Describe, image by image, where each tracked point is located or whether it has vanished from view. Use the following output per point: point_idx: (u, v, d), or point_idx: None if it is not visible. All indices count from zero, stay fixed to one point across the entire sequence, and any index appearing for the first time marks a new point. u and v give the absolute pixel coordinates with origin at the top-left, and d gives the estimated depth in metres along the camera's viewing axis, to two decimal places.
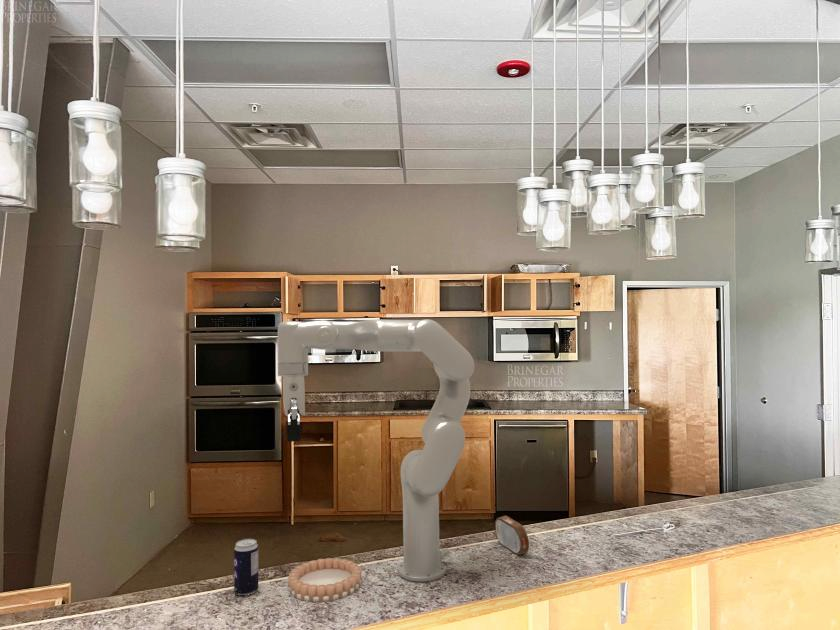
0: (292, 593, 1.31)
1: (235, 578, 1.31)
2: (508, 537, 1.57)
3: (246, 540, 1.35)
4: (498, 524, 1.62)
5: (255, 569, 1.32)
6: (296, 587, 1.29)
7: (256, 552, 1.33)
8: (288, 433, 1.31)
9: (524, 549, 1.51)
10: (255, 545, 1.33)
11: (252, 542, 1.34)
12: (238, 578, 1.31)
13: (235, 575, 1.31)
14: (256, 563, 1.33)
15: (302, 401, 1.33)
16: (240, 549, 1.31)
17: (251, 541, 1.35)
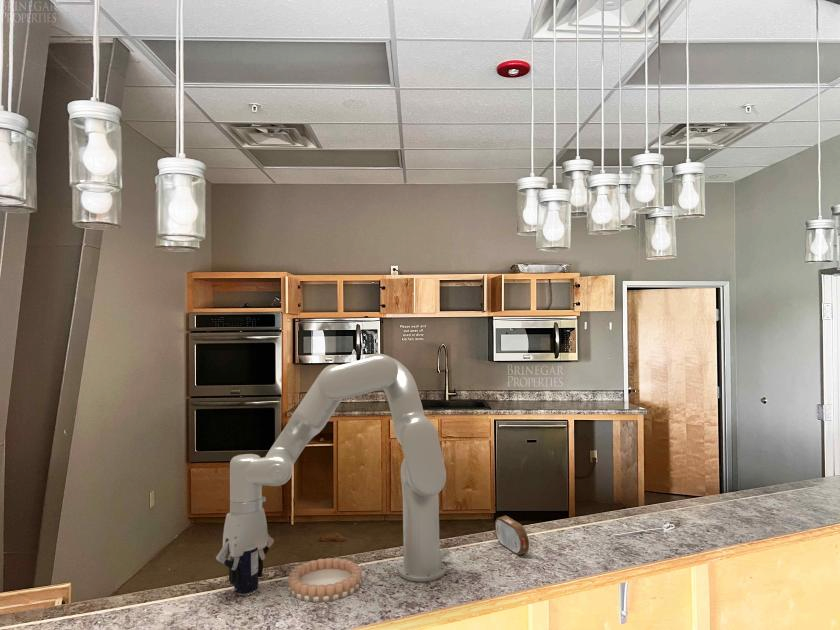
0: (292, 593, 1.31)
1: None
2: (508, 537, 1.57)
3: None
4: (498, 524, 1.62)
5: (255, 569, 1.32)
6: (296, 587, 1.29)
7: (256, 552, 1.33)
8: None
9: (524, 549, 1.51)
10: None
11: None
12: None
13: None
14: (256, 563, 1.33)
15: None
16: None
17: None
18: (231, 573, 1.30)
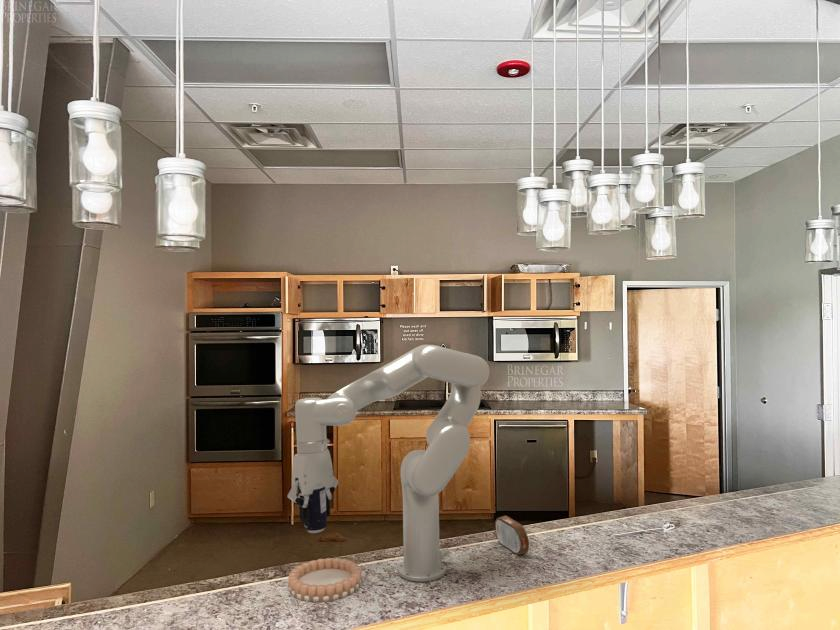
0: (292, 593, 1.31)
1: None
2: (508, 537, 1.57)
3: None
4: (498, 524, 1.62)
5: (324, 507, 1.36)
6: (296, 587, 1.29)
7: (324, 491, 1.36)
8: None
9: (524, 549, 1.51)
10: None
11: None
12: None
13: None
14: (324, 501, 1.36)
15: None
16: None
17: None
18: (302, 511, 1.34)
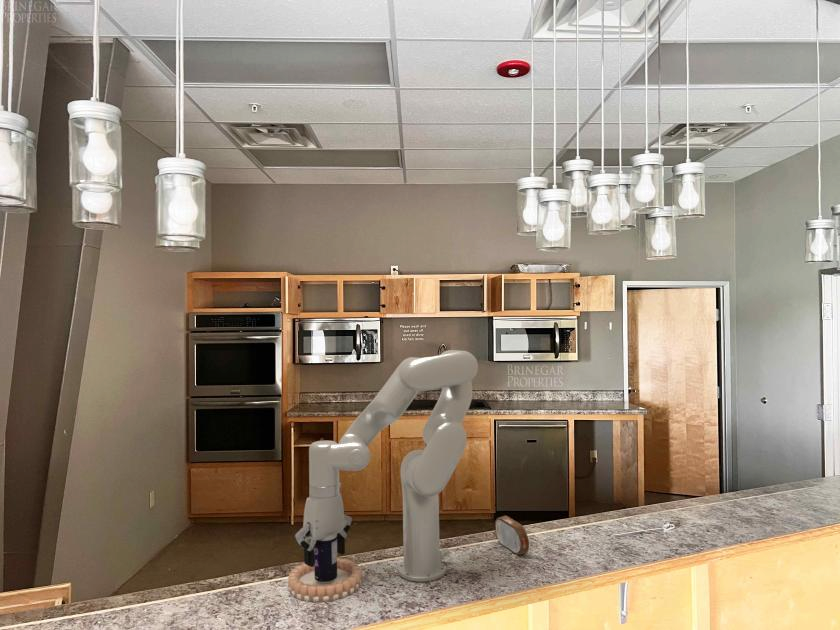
0: (292, 593, 1.31)
1: (316, 567, 1.35)
2: (508, 537, 1.57)
3: None
4: (498, 524, 1.62)
5: (335, 558, 1.36)
6: (296, 587, 1.29)
7: (336, 541, 1.36)
8: None
9: (524, 549, 1.51)
10: (334, 535, 1.36)
11: None
12: (319, 566, 1.34)
13: (316, 564, 1.35)
14: (336, 552, 1.36)
15: None
16: (321, 539, 1.34)
17: None
18: (307, 554, 1.32)
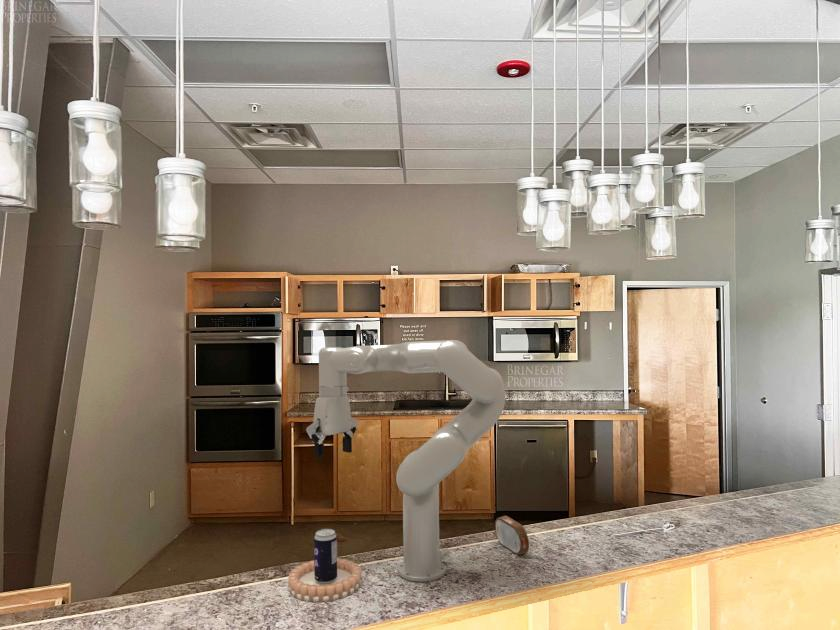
0: (292, 593, 1.31)
1: (316, 567, 1.35)
2: (508, 537, 1.57)
3: (324, 530, 1.39)
4: (498, 524, 1.62)
5: (335, 558, 1.36)
6: (296, 587, 1.29)
7: (335, 541, 1.36)
8: None
9: (524, 549, 1.51)
10: (334, 535, 1.36)
11: (331, 532, 1.37)
12: (319, 566, 1.34)
13: (316, 564, 1.35)
14: (336, 552, 1.36)
15: None
16: (321, 539, 1.34)
17: (329, 531, 1.38)
18: (317, 447, 1.43)
